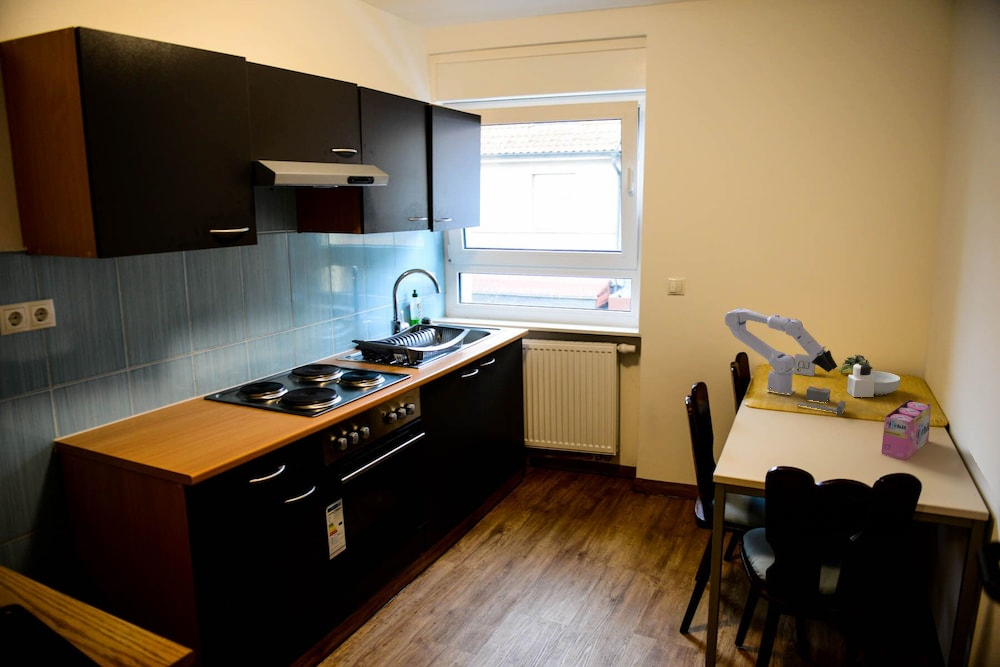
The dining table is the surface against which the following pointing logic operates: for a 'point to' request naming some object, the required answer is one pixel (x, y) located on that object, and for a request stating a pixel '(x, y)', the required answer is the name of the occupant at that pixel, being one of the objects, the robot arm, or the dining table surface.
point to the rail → (839, 408)
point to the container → (861, 381)
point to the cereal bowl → (884, 382)
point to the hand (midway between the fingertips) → (833, 369)
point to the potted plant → (853, 363)
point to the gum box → (906, 429)
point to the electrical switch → (804, 365)
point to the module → (818, 394)
